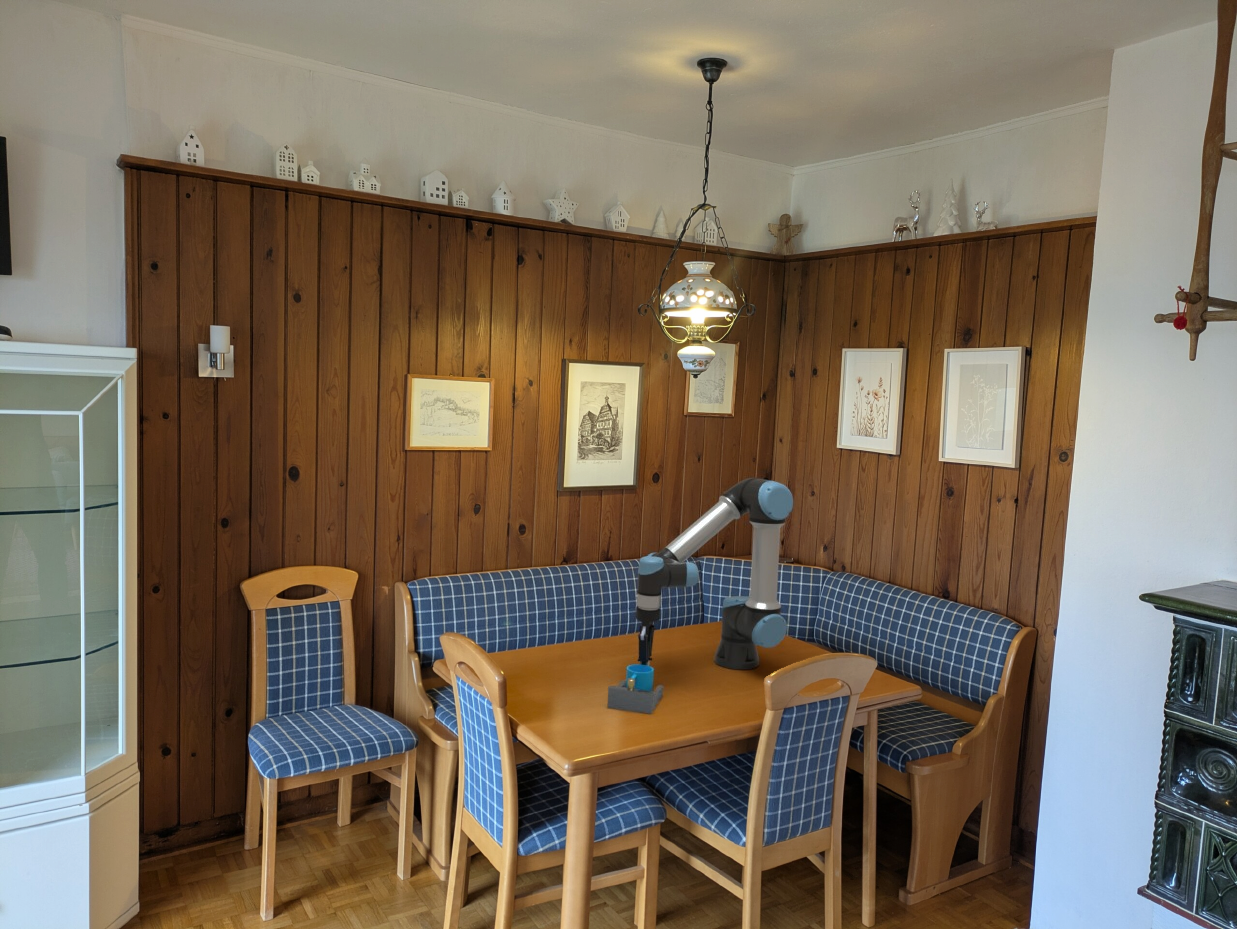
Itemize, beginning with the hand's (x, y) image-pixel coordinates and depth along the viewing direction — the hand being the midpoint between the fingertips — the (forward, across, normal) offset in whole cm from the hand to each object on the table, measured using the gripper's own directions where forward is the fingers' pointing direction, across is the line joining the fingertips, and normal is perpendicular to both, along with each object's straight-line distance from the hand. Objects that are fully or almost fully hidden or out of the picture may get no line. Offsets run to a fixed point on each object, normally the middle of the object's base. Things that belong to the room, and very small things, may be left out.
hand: (643, 681), depth 272 cm
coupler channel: (+2, +12, +1) cm, 12 cm away
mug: (+2, +9, 0) cm, 9 cm away
